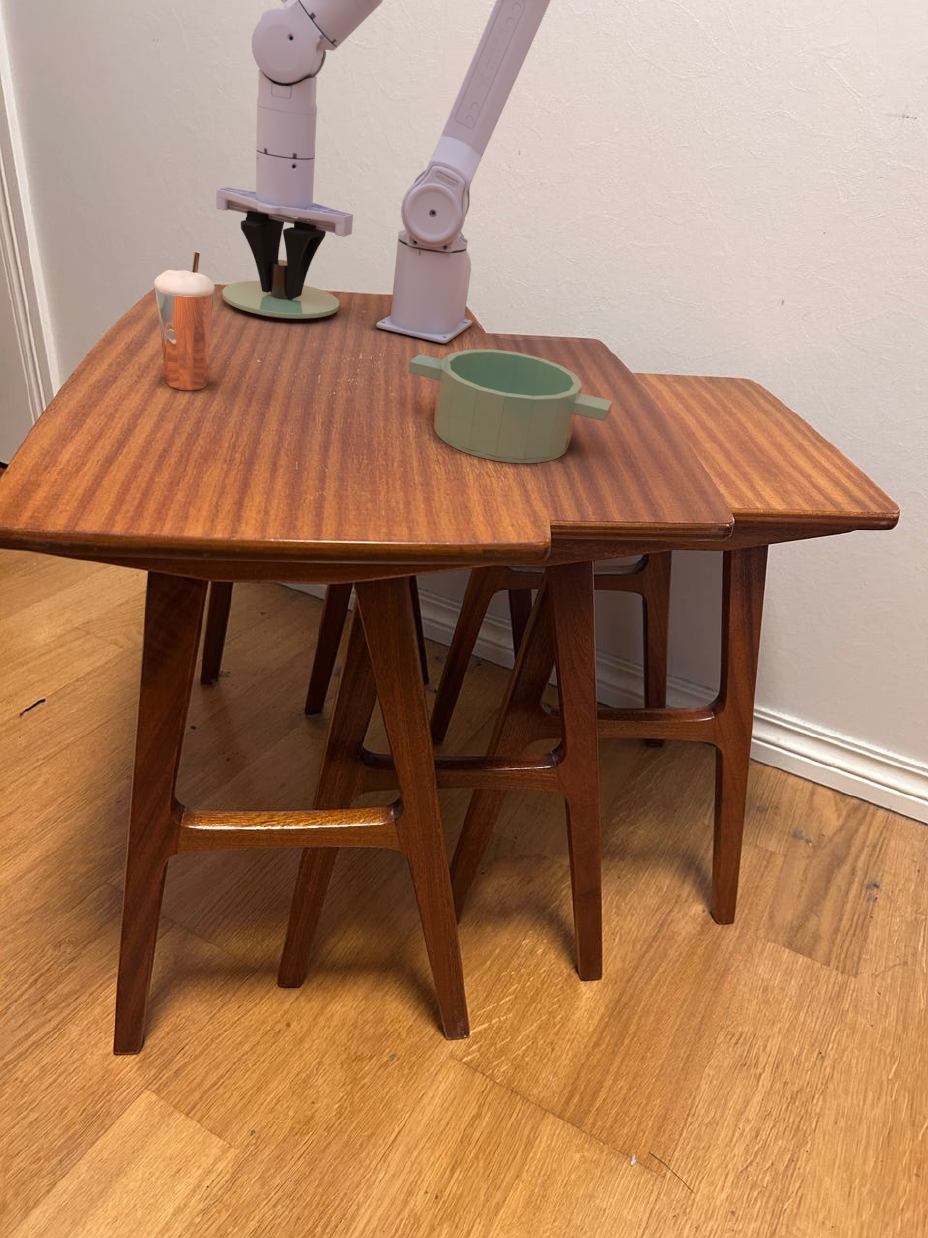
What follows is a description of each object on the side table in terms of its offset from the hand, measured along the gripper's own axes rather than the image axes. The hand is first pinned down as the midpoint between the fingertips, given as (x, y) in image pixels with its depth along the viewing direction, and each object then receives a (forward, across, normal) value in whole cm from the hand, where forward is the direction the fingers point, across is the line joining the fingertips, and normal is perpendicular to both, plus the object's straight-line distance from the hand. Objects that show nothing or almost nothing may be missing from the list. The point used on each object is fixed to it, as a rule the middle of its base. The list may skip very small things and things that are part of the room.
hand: (281, 293), depth 99 cm
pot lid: (+1, 0, 0) cm, 1 cm away
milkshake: (+2, +5, -26) cm, 27 cm away
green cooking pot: (+1, +31, -20) cm, 37 cm away
